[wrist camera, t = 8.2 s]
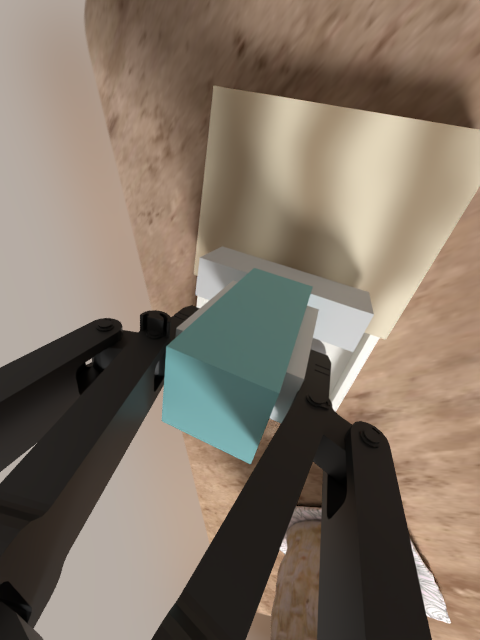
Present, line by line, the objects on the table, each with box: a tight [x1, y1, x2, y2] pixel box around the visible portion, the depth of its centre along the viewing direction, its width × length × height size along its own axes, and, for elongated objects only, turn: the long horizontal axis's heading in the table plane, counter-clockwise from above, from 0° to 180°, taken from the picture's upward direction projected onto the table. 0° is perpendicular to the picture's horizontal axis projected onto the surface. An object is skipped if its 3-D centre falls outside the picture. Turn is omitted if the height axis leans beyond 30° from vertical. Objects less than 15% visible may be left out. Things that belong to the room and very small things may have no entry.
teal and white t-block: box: [162, 246, 374, 464], centre depth 15 cm, size 12×4×14 cm, turn 78°
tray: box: [196, 296, 379, 412], centre depth 28 cm, size 18×12×2 cm, turn 78°
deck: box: [194, 86, 480, 340], centre depth 21 cm, size 18×14×4 cm
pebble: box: [311, 338, 326, 355], centre depth 26 cm, size 3×3×3 cm
